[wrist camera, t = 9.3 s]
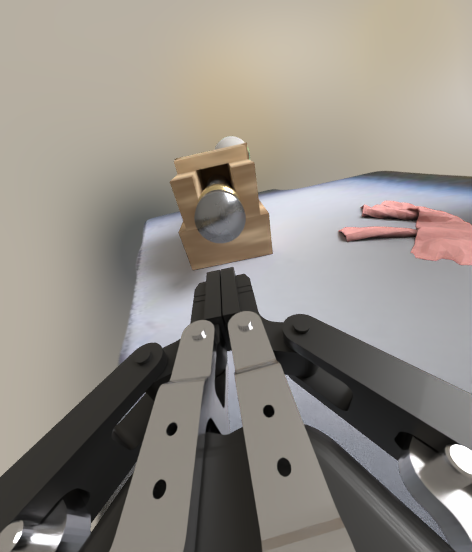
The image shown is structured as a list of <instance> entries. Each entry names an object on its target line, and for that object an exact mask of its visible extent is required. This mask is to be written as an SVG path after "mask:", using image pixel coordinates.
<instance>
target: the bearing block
mask: <svg viewBox="0 0 472 552" xmlns="http://www.w3.org/2000/svg"><path fill="white" fill-rule="evenodd" d="M174 164H175V167H176V170H177V173H178V175H177V176H175V178H173V179H172V180H171V181H170V184H171V187H172V189H173V192H174V195H175V198H176V201H177V204H178V207H179V210H180V213H181V216H182V219H183V223H182V225H181V228H180V230H179V235H180V238H181V240H182V243H183V246H184V249H185V251H186V254H187V257H188V259H189V262H190V265H191V267H192V270H196V269H201V268H206V267H211V266H216V265H220V264H225V263H230V262H235V261H240V260H245V259H249V258H254V257H259V256H264V255H269V254H273V252H272V242H271V231H270V220H269V213H268V211H267V210H266V209H265V207H264V206H263V205H262V203H261V202H260V201H259V198H258V190H257V182H256V173H255V164H254V162H252V161H250V160H249V157H248V149H247V143H242V144H238V145H234V146H229V147H225V148H220V149H216V150H212V151H207V152H203V153H199V154H194V155H190V156H185V157H181V158H176V159H175V161H174ZM213 175H222V176H224V177H225V178H226V179H227V180H228V182H229V184H230V187H231V188H232V189H233V190H234V191H235V192H236V193H237V195H238V196H239V199H240V201H241V204H242V206H243V208H244V211H245V215H246V222H245V226H244V229H243V231H242V232H241V234H240V235H239V236H238V237H237V238H236V239H234V240H232V241H230V242H227V243H214V242H211V241H209V240H207V239H205V238H204V237H203V236H202V235H201V234H200V233H199V231H198V230H197V228H196V225H195V220H194V216H195V210H196V207H197V203H198V200H199V197H200V195H201V193H202V192H203V190H204V189H206V186H207V182H208V180H209V178H210V177H212V176H213Z"/></svg>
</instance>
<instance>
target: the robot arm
mask: <svg viewBox="0 0 472 552" xmlns="http://www.w3.org/2000/svg"><path fill="white" fill-rule="evenodd" d="M231 350H232V354H233V359H234V365H235V382H236V388H237V394H238V400H239V406H240V412H241V418H242V424H243V427H242V428H240V429H238V430H236V431H234V432H232V433H230V422H229V417H228V363H227V351H231ZM285 375H288V376H289V377H290V378H291V379H292V380H293V381H294V382H296V383H297V384H298V385H300V386H301V387H302V388H303V389H305V390H306V391H307V392H309V393H310V394H311V395H313V396H314V397H315V398H317V399H318V400H319V401H320V402H322V403H323V404H324V405H326V406H327V407H328V408H330V409H331V410H332V411H334V412H335V413H336V414H337V415H339V416H340V417H341V418H343V419H344V420H345V421H347V422H348V423H349V424H351V425H352V426H353V427H354V428H356V429H357V430H358V431H360V432H361V433H362V434H364V435H365V436H366V437H368V438H369V439H370V440H371V441H373V442H374V443H375V444H377V445H378V446H379V447H381V448H382V449H383V450H385V451H386V452H387V453H388V454H390V455H391V456H392V457H394V458H395V459H396V460H398V468H399V472H400V476H401V478H402V481H403V483H404V485H405V486H406V488H407V490H408V491H409V493H410V494H411V495H412V497H413V498H414V499H415V500H416V501H417V502H418V503H419V504H420V505H421V506H422V507H423V508H424V509H425V510H426V511H427V512H428V513H429V514H430V516H431V517H432V518H433V519H434V520H435V522H436V523H437V524H438V526H439V527H440V529H441V530H442V532H443V534H444V535H445V537H446V539H447V541H448V543H449V544H447V543H446V542H445V541H444V540H443V539H442V538H441V537H440V536H439V535H438V534H436V533H435V532H434V531H433V530H432V529H431V528H430V527H429V526H428V525H427V524H425V523H424V522H423V521H422V520H421V519H420V518H419V517H418V516H417V515H416V514H414V513H413V512H412V511H411V510H410V509H409V508H408V507H407V506H406V505H405V504H403V503H402V502H401V501H400V500H399V499H398V498H397V497H396V496H395V495H394V494H392V493H391V492H390V491H389V490H388V489H387V488H386V487H385V486H384V485H383V484H381V483H380V482H379V481H378V480H377V479H376V478H375V477H374V476H373V475H372V474H370V473H369V472H368V471H367V470H366V469H365V468H364V467H363V466H362V465H361V464H360V463H358V462H357V461H356V460H355V459H354V458H353V457H352V456H351V455H350V454H349V453H347V452H346V451H345V450H344V449H343V448H342V447H341V446H340V445H339V444H337V443H336V442H335V441H334V440H333V439H331V438H330V437H329V436H327V435H326V434H324V433H323V432H321V431H319V430H317V429H315V428H313V427H311V426H308V425H305V424H303V421H302V419H301V416H300V413H299V411H298V408H297V406H296V403H295V400H294V398H293V395H292V393H291V390H290V387H289V385H288V382H287V380H286V377H285ZM145 392H146V394H145V395H144V396H143V397H142V398H141V399H140V400H139V402H138V403H137V404H136V405H135V406H134V407H133V408H132V410H131V411H130V412H129V413H128V414H127V415H126V416H125V418H124V419H123V420H122V421H121V422H120V423H119V424H117V423H118V422H119V421H120V420H121V419H122V417H123V416H124V415H125V414H126V413H127V412H128V411H129V410H130V408H131V407H132V406H133V405H134V404H135V403H136V402H137V400H138V399H139V398H140V397H141V396H142V395H143V394H144V393H145ZM116 424H117V425H116ZM136 462H137V463H136ZM135 463H136V467H135V470H134V473H133V474H132V475H131V476H130V478H129V479H128V480H127V482H126V483H125V485H124V486H123V487H122V489H121V490H120V492H119V493H118V495H117V496H116V498H115V499H114V500H113V502H112V503H111V505H110V506H109V508H108V509H107V511H106V512H105V513H104V515H103V516H102V518H101V519H100V521H99V522H98V524H97V525H96V526H95V528H94V529H93V531H92V532H91V531H90V527H91V523H92V521H93V520H94V519H95V517H96V516H97V515H98V513H99V512H100V510H101V509H102V508H103V506H104V505H105V504H106V502H107V501H108V500H109V498H110V497H111V496H112V494H113V493H114V491H115V490H116V489H117V487H118V486H119V485H120V483H121V482H122V481H123V479H124V478H125V477H126V475H127V474H128V472H129V471H130V470H131V468H132V467H133V466H134V464H135ZM0 552H472V394H470V393H468V392H466V391H464V390H462V389H460V388H458V387H456V386H454V385H452V384H450V383H448V382H446V381H444V380H441V379H439V378H437V377H435V376H433V375H431V374H429V373H427V372H425V371H423V370H421V369H419V368H417V367H415V366H413V365H410V364H408V363H406V362H404V361H402V360H400V359H398V358H396V357H394V356H392V355H390V354H388V353H386V352H384V351H382V350H379V349H377V348H375V347H373V346H371V345H369V344H367V343H365V342H363V341H361V340H359V339H357V338H355V337H353V336H350V335H348V334H346V333H344V332H342V331H340V330H338V329H336V328H334V327H332V326H330V325H328V324H326V323H324V322H322V321H319V320H317V319H315V318H313V317H311V316H309V315H305V314H296V315H292V316H290V317H288V318H287V319H286V320H285V321H284V323H282V322H272V321H268V320H266V319H264V318H263V317H262V316H261V315H260V314H259V312H258V309H257V305H256V301H255V297H254V293H253V290H252V286H251V282H250V278H249V277H247V276H246V275H245V274H241V275H236V276H235V271H234V267H231V268H226V269H221V271H220V270H217V271H212V272H207V276H206V282H203V283H199V284H198V286H197V287H196V289H195V292H194V300H193V308H192V315H191V323H190V325H188V326H187V327H186V328H185V330H184V331H183V333H182V336H181V339H179V340H178V341H176V342H174V343H172V344H170V345H168V346H166V347H164V348H162V347H161V345H159V344H157V343H148V344H145V345H143V346H141V347H139V348H138V349H137V350H135V351H134V352H133V353H132V354H131V355H130V356H129V357H128V358H127V359H126V360H125V361H124V362H123V363H121V364H120V365H119V366H118V367H117V368H116V369H115V370H114V371H113V372H112V373H111V374H110V375H109V376H108V377H107V378H106V379H104V380H103V381H102V382H101V383H100V384H99V385H98V386H97V387H96V388H95V389H94V390H93V391H92V392H91V393H89V394H88V395H87V396H86V397H85V398H84V399H83V400H82V401H81V402H80V403H79V404H78V405H77V406H76V407H75V408H74V409H72V410H71V411H70V412H69V413H68V414H67V415H66V416H65V417H64V418H63V419H62V420H61V421H60V422H59V423H58V424H56V425H55V426H54V427H53V428H52V429H51V430H50V431H49V432H48V433H47V434H46V435H45V436H44V437H43V438H42V439H40V440H39V441H38V442H37V443H36V444H35V445H34V446H33V447H32V448H31V449H30V450H29V451H28V452H27V453H25V454H24V455H23V456H22V457H21V458H20V459H19V460H18V461H17V462H16V463H15V464H14V465H13V466H12V467H11V468H9V470H7V471H6V472H5V473H4V474H3V475H2V476H1V477H0Z"/></svg>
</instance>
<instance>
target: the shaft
mask: <svg viewBox="0 0 472 552" xmlns="http://www.w3.org/2000/svg"><path fill="white" fill-rule="evenodd" d="M194 220H195V225H196V228H197V230H198V231H199V233H200V234H201V235H202V236H203V237H204V238H205V239H207V240H209V241H211V242H214V243H227V242H230V241H232V240H234V239H236V238H237V237H238V236H239V235H240V234H241V232H242V231H243V229H244V226H245V222H246V215H245V211H244V208H243V206H242V204H241V201H240V199H239V196H238V195H237V193H236V192H235V191H234V190H233V189H232V188H231V187H230V184H229V182H228V180H227V179H226V178H225V177H224V176H222V175H213V176H212V177H210V178H209V180H208V182H207V186H206V189H204V190H203V192H202V193H201V195H200V197H199V200H198V203H197V207H196V210H195V216H194Z"/></svg>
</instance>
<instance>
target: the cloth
mask: <svg viewBox="0 0 472 552" xmlns="http://www.w3.org/2000/svg"><path fill="white" fill-rule="evenodd" d="M383 205H384V206H383ZM386 206H387V207H386ZM361 208H363V213H362V217H376V218H382V219H395V218H397V219H398V218H399V219H402V220H417V222H416V227H417V229H418V230H414V229H410V228H393V227H363V228H358V227H345V228H343V229H341V230H339V232H340V231H341V232H343V233H344V234H345V235H344V236H345V237H346V239H347V242H350V241H354V240H359V239H366V238H406V237H416V239H415V245H414V247H413V248H412V251H411V253H413V254H414V255H415V257H416V258H420V259H425V260H433V261H437V260H439V259H442V258H443V259H449V260H454V261H455V262H456V263H458V264H459V265H472V225H471V224H470V223H468V222H465V221H464V220H462V219H460V218H459V217H458V216H454V215H452V214H449V213H446V212H443V211H436V210H433V209H429V208H426V207H420V206H414V205H412V204H409V203H400V202H395V201H384V202H382V204H381V205H375V206H373V207H372V208H371V207H369V206H367V205H365V204H364V205H363V206H362V207H361Z"/></svg>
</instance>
